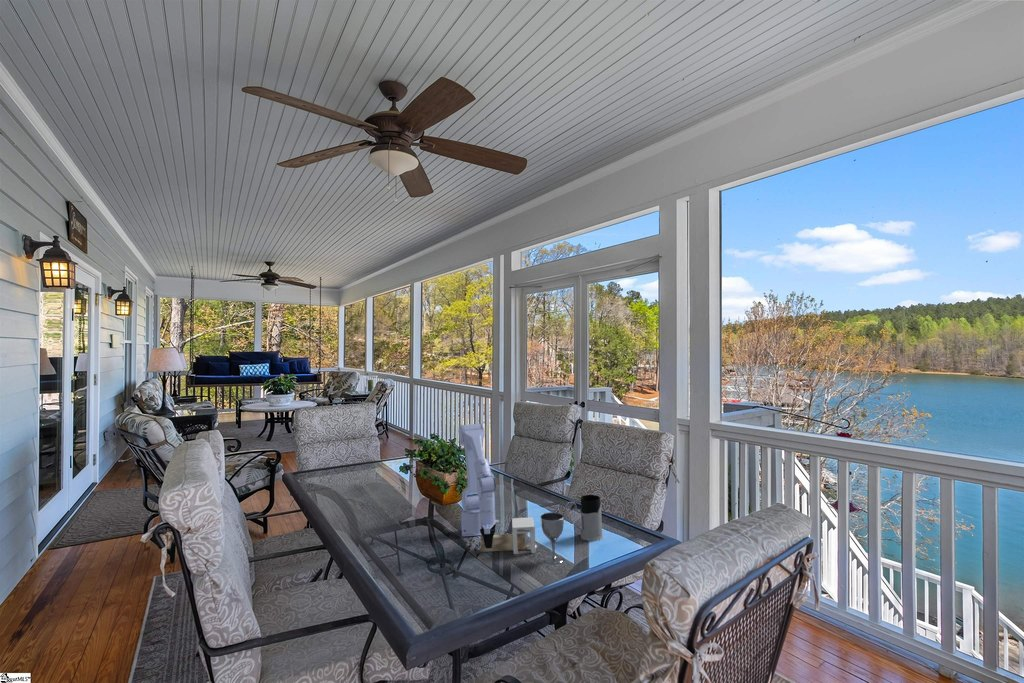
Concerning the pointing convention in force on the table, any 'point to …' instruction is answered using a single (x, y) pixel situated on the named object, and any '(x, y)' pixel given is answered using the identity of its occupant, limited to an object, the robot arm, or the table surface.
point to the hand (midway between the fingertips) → (488, 546)
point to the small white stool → (523, 531)
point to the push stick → (504, 542)
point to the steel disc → (528, 546)
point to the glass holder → (590, 518)
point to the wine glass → (552, 533)
